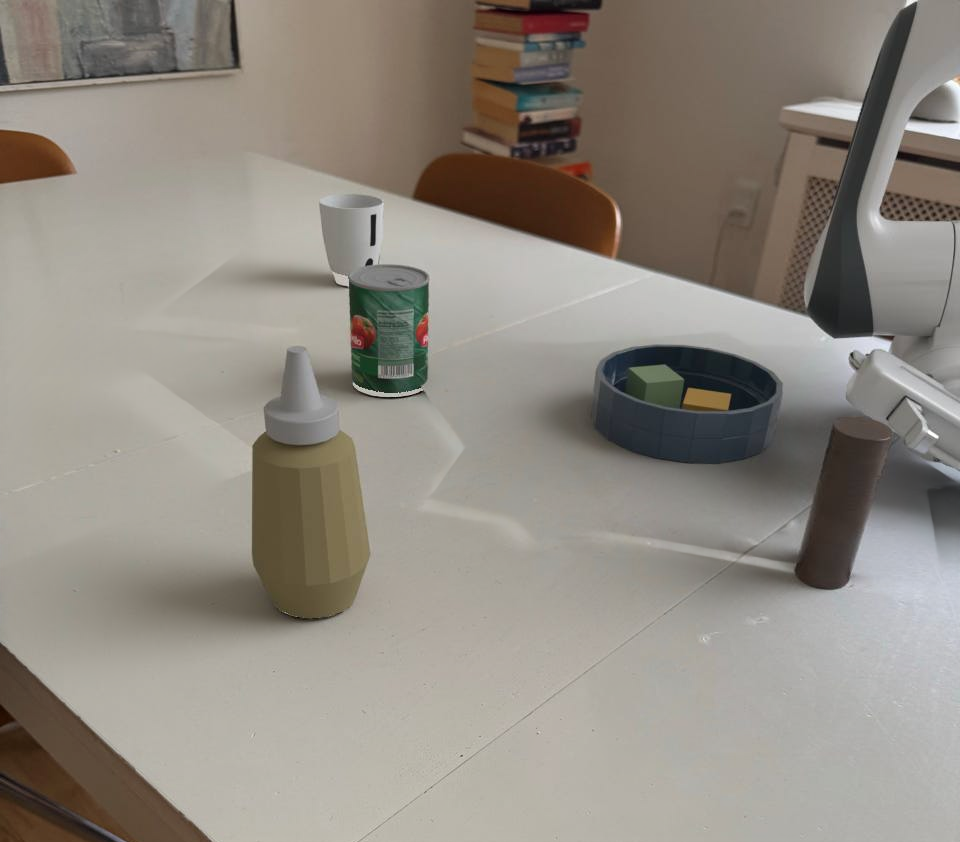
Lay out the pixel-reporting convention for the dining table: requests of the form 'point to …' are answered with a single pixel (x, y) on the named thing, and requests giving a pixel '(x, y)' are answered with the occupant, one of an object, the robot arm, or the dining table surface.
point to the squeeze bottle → (307, 500)
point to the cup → (351, 230)
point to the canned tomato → (389, 327)
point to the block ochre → (706, 400)
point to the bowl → (682, 429)
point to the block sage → (655, 385)
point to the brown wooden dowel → (842, 501)
